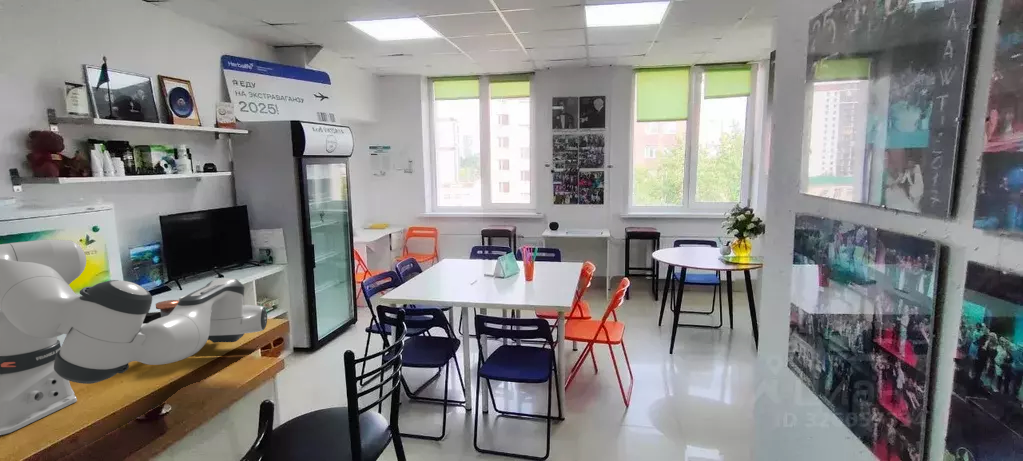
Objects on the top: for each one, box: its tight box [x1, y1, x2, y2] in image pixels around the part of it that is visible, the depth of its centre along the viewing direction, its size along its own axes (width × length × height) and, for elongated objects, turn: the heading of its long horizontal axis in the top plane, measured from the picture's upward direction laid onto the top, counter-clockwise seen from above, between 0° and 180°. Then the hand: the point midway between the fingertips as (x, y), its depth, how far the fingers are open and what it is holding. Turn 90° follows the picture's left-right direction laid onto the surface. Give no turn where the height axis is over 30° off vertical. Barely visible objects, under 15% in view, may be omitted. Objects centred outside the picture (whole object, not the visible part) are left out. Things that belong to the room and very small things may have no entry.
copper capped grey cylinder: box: [155, 299, 179, 317], centre depth 150 cm, size 6×6×14 cm
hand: (166, 321), depth 150 cm, fingers open, 7 cm apart
